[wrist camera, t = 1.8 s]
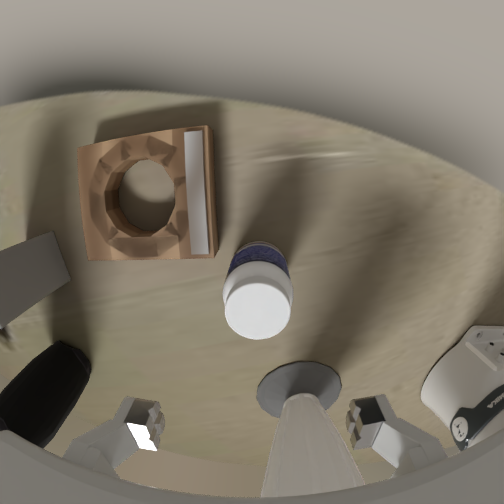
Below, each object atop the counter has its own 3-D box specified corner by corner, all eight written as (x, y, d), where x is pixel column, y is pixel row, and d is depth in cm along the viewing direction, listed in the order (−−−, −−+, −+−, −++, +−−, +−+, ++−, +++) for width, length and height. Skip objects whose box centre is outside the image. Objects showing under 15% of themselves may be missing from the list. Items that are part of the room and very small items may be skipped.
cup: (238, 398, 34) (224, 544, 13) (296, 345, 31) (325, 519, 11) (300, 427, 36) (314, 552, 15) (357, 383, 33) (406, 517, 12)
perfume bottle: (71, 279, 30) (-26, 350, 13) (42, 289, 31) (-44, 351, 14) (53, 230, 28) (-57, 277, 11) (26, 245, 29) (-69, 290, 12)
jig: (213, 130, 25) (206, 124, 22) (218, 249, 28) (213, 259, 25) (92, 149, 26) (75, 147, 23) (101, 252, 29) (86, 261, 26)
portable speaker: (105, 375, 34) (45, 471, 15) (73, 385, 36) (18, 463, 17) (70, 329, 32) (-11, 415, 13) (43, 345, 34) (-26, 416, 15)
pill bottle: (221, 253, 29) (202, 292, 19) (273, 231, 28) (280, 261, 18) (245, 300, 30) (238, 355, 20) (294, 280, 29) (309, 329, 20)
